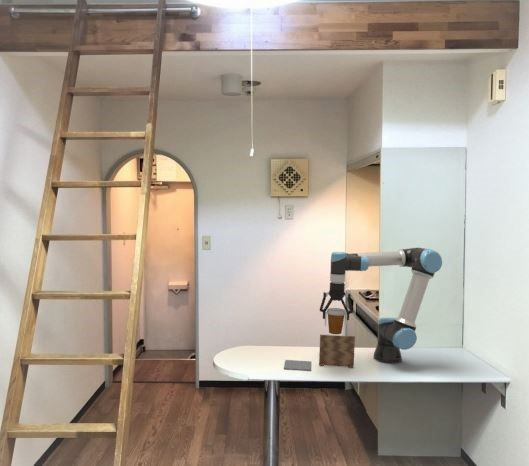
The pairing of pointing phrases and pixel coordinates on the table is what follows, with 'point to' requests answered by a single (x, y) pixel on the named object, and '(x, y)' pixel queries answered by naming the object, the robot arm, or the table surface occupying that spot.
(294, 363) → the mat
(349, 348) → the screen
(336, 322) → the disposable coffee cup
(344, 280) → the robot arm
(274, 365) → the table surface
